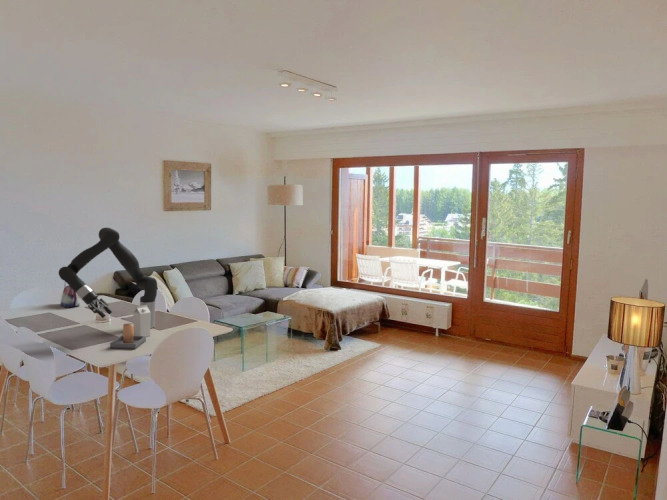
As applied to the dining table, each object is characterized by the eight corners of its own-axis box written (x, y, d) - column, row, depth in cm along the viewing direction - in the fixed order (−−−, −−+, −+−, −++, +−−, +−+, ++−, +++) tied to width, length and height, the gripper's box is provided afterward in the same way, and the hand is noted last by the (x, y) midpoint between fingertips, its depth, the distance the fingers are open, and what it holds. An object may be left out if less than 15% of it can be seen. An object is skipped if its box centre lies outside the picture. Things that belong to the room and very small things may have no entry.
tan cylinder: (125, 341, 284) (125, 322, 283) (135, 342, 284) (135, 323, 283) (121, 344, 278) (121, 325, 277) (131, 344, 278) (131, 325, 277)
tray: (121, 340, 289) (122, 335, 289) (145, 341, 289) (145, 336, 289) (110, 348, 273) (110, 343, 273) (135, 349, 273) (135, 344, 273)
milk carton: (133, 336, 298) (133, 305, 296) (143, 333, 304) (143, 303, 302) (140, 338, 294) (140, 307, 292) (150, 336, 300) (150, 305, 298)
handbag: (82, 307, 365) (82, 274, 363) (68, 309, 358) (68, 275, 355) (71, 302, 379) (71, 270, 377) (57, 304, 372) (57, 271, 369)
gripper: (85, 292, 271) (106, 313, 272) (97, 287, 285) (117, 307, 287) (76, 301, 271) (97, 322, 273) (88, 296, 285) (108, 316, 287)
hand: (107, 315), depth 280 cm, fingers open, 8 cm apart
